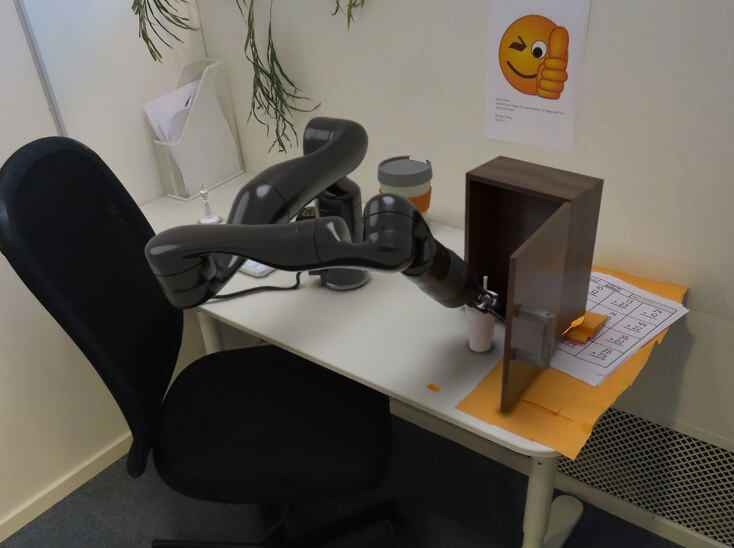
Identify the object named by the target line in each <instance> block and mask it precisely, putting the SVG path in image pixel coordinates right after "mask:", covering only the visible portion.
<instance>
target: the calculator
mask: <svg viewBox="0 0 734 548" xmlns="http://www.w3.org/2000/svg"><path fill="white" fill-rule="evenodd" d="M275 270H276V269H274V268H271V267H268V266H265V265H262V264H260V263H257V262H254V261H251V260H248V261H247V262H246V263H245V264H244V265H243V266H242V267H241V268H240V270H239V271H238V272H241V273H245V274H247V275H250V276H253V277H257V278H262V277H264V276H266V275H268V274H270V273H271V272H273V271H275Z"/></svg>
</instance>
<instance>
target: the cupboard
mask: <svg viewBox="0 0 734 548" xmlns="http://www.w3.org/2000/svg"><path fill="white" fill-rule="evenodd" d="M464 184H465V185H464V186H465V187H464V188H465V190H464V191H465V193H464V194H465V195H464V243H463V245H464V246H463V248H464V250H463V260H464V261H465V262H466V263H467V264H469V265H470V266H471V267H472V268H473V269H474V270H475V272H476V274H477V278H478V284H479V285H481V286H482V288H483V289H484V277H485V276H486V277H487V290H488V291H492V292H494V293H496V294H498V295H499V296H500V297H501V298H503V299H504V300H505V301H506V302H507V293H508V277H509V261H510V256H511V255H512V254H513V253H514V252H515V251H516V250H517V249H518V248H519V247H520V246H521V245H522V244H523V243H524V242H525V241H526V240H527V239H528V238H529V237H530V236H531V235H533V234H534V233H535V232H536V231H537V230H538V229H539V228H540V227H541V226H542V225H543V224H544V223H545V222H546V221H547V220H548V219H549V218H550V217H551V216H552V215H553V214H554V213H555V212H556V211H557V210H558V209H559V208H560V207H561V206H562V205H563V204H564V203H565V202H568V203H572V204H571V213H570V222H569V230H568V239H567V248H566V257H565V265H564V274H563V283H562V292H561V300H560V309H559V318H558V327H557V335H556V344H555V346H556V345H557V344H559V343H560V342H561V341H562V340H563V339H565V338H566V337H568V335H569V334H571V333H572V332H573V331H574V330H575V329H577V328H576V327H572V328H570V329H569V330H568V331H567V332H566V333H564V332H565V331H566V330H567V329H568V328H569V327H570V326H571V323H572V322H573V321H575V320H577V319H578V318H580V317H582V316H584V315H585V317H584V318H586V310H587V304H588V303H587V302H588V297H589V289H590V281H591V275H592V268H593V260H594V254H595V247H596V240H597V232H598V227H599V219H600V211H601V204H602V197H603V191H604V190H603V189H604V184H605V179H604V178H600V177H595V176H591V175H586V174H582V173H578V172H574V171H570V170H565V169H561V168H557V167H556V168H555V167H552V166H549V165H543V164H539V163H535V162H530V161H525V160H521V159H517V158H513V157H508V156H505V155H498V156H496V157H494V158H492V159H490V160H488V161H486V162H484V163H482V164H480V165H478V166H476V167H474V168H472V169H470V170H467V171H466V172H465V183H464ZM462 309H464V310H465V308H464V307H463V306H462ZM496 323H498V324H499V325H502V326H506V321H505V322H504V323H503V322H500V321H499V320H497V319H496ZM563 333H564V334H563ZM562 334H563V335H562Z"/></svg>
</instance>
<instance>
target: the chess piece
mask: <svg viewBox="0 0 734 548" xmlns="http://www.w3.org/2000/svg"><path fill="white" fill-rule="evenodd" d="M206 188H207V185H204V183H203V182H201V183H200V185H198V189H201V190H199V195H200V196H201V198H202V199H201V201H200V202H201V203H203V206H204V215H203V216H202V217H201V218H200V219H199V224H219V223H220V222H221V219H220V217H219V216H218V215H216V214H213V213H212V210H211V208H210V204H209V202H211V199H210V198H209V197H208V194H209V193H208V192H209V191H208V189H206Z"/></svg>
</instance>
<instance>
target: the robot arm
mask: <svg viewBox="0 0 734 548" xmlns="http://www.w3.org/2000/svg"><path fill="white" fill-rule="evenodd" d="M368 148H369V135H368V132H367V130H366V129H365V127H364V125H362V124H361V123H360V122H357V121H355V120H353V119H346V118H339V117H331V116H315V117H312V118H311V119H310V120H308V121H307V123H306V125H305V127H304V131H303V135H302V155H301V156H297V157H294V158H291V159H288V160H284V161H281V162H278V163H275V164H273V165H270V166H269V167H267V168H265V169H263V170H261V171H260V172H259V173H258V174H256V175H255V176H254V177H252V178H251V179H250V180H249V181H247V182H246V183H245V184H244V185H243V186H241V188H240V189H239V191H238V192H237V193H236V195H235V198H234V200H233V201H232V203H231V207H230V210H229V213H228V216H227V219H226V222H225V223H217V224H200V223H195V224H182V225H178V226H173V227H170V228H167V229H164V230H162V231H161V232H158V233H156V234H155V235H154V236H152V237H151V238H150V239H149V241H148V242H147V243H146V244H145V247H144V256H145V259H146V261H147V264H148V266H149V268H150V270H151V272H152V274H153V275H154V277H155V280H156V281H157V283H158V285H159V287H160V289H161V290H162V293H163V294H164V296H165V298H166V299H167V301H168V303H170V305H171V306H172V307H174V308H176V309H178V310H183V311H184V310H191V309H195V308H197V307H200V306H202V305H204V304H205V303H207V302H208V301H210V300H224V299H230V298H235V297H238V296H242V295H246V294H250V293H255V292H257V291H258V292H259V291H266V290H267V291H293V290H296V289H297V288H299V287H300V285H301V279H300V276H301V274H302V273H305V272H308V273H307V274H308V276H318V277H319V278H320V286H322V287H327V288H329V289H332V290H337V291H347V290H353V289H357V288H359V287H361V286H363V285H364V284H365V283H366V282H368V278H369V275H368V272H374V273H378V274H379V273H380V274H387V275H388V274H389V275H391V274H397V273H400V274H401V275H402V276H403V277H404V278H406V279H407V280H409V281H410V282H411V283H412V284H415V285H416V286H417V287H418V289H419V290H420V291H421V292H422V293H424V294H425V295H426V296H428V297H429V298H431V299H432V300H435V302H437V303H438V304H440V305H441V306H443V307H444V308H447V309H458V308H461V307H463V305H464V306H466V307H469V308H473V309H475V310H477V311H478V312H480V313H483V314H487V313H488V314H490V315H492V317H494V318H496V319H497V320H499V321H500V322H503V323H504V322H505V321H506V309H507V302H506V301H505V300H504V299H503V298H501V297H500V296H499V295H493V294H491V293H490V292H488V291H486V290H485V289H483V288H482V286H481V285H479V284H478V278H477V274H476V272H475V270H474V269H473V268H472V267H471V266H470V265H469V264H467V263H466V262H465V261H464V258H462V257H461V256H460V255H458V254H457V252H455V251H453V250H452V249H451V248H448V247H447V246H445V245H444V244H443V243H441V241H439V239H437V238H436V237H434V235H433V233H432V231H431V228H430V226H429V224H428V223H427V220H426V221H425V220H424V218H423V216H422V215H421V213H420V212H419V210H418V209H417V207H416V206H415V205H414V204H413V203H412V202H411V201H410V200H408V199H407V198H405V197H403V196H401V195H399V194H395V193H380V192H379V193H377V194H375V195H373V196H372V197H370V199H369V200H368V201H367V202H366V203H365V206H364V208H363V202H362V191H361V188H360V186H359V184H358V183H356V181H354V180H352V179H351V178H350V177H348V176H349V175H350V174H351V173H353V172H354V171H355V170H356V169H358V168H359V167H360V165H361V164H362V162H363V161H364V159H365V157H366V155H367V152H368ZM312 202H313V204H314V206H315V212H316V218H313V219H307V220H300V221H295V220H294V219H296V217H297V215H298V214H299V213H300V212H301V211H302V210H303V209H304V208H306V207H308V206H309V205H310V204H311V203H312ZM293 220H294V221H293ZM248 260H251V261H254V262H257V263H260V264H262V265H265V266H268V267H271V268H274V269H275V270H277V271H282V272H287V273H296V274H295V281H296V282H295V284H293V285H292V286H289V287H281V286H274V285H261V286H254V287H251V288H247V289H242V290H239V291H236V292H235V291H234V292H231V293H227V294H219V292H221V291H222V290H223V289H224V288H225V287H226V285H227V284H228V283H230V281H231V280H232V279H233V278H234V277H235V276H236V275H237V273H238V272H240V271H239V270H240V268H241V267H242V266H243V265H244V264H245V263H246V262H247V261H248ZM483 302H484V303H483ZM481 304H483V305H482V307H481V308H480V307H478V306H479V305H481Z"/></svg>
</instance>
